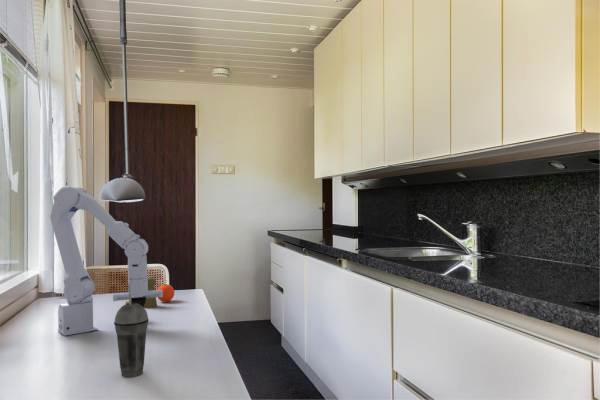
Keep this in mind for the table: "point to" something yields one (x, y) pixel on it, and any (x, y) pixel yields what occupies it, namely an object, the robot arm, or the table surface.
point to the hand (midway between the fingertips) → (139, 322)
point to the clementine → (166, 293)
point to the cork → (152, 301)
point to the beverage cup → (131, 337)
